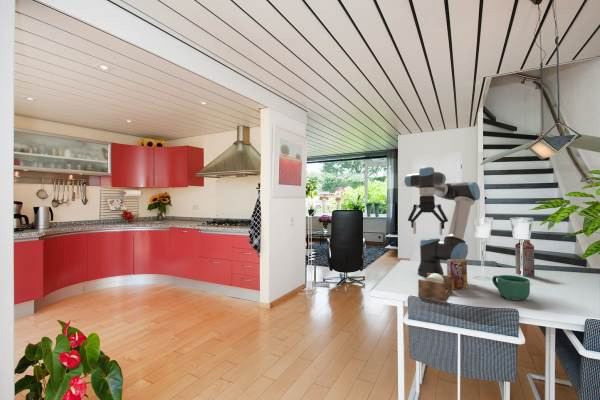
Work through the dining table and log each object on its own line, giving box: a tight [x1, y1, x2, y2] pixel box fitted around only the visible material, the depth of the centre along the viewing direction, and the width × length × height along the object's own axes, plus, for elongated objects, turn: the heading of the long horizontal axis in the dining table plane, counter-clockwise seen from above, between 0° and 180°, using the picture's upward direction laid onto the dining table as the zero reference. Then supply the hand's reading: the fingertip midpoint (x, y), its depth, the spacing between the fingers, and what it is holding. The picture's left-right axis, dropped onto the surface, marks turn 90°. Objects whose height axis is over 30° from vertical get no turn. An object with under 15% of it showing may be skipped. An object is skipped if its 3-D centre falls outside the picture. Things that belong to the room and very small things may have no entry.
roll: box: [423, 273, 444, 283], centre depth 149 cm, size 12×8×8 cm, turn 143°
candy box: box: [446, 259, 468, 290], centre depth 157 cm, size 9×4×15 cm, turn 89°
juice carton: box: [514, 239, 535, 277], centre depth 184 cm, size 7×7×22 cm
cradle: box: [417, 273, 453, 302], centre depth 148 cm, size 12×18×8 cm, turn 143°
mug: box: [491, 274, 531, 301], centre depth 142 cm, size 17×13×10 cm
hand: (427, 234), depth 160 cm, fingers open, 13 cm apart
